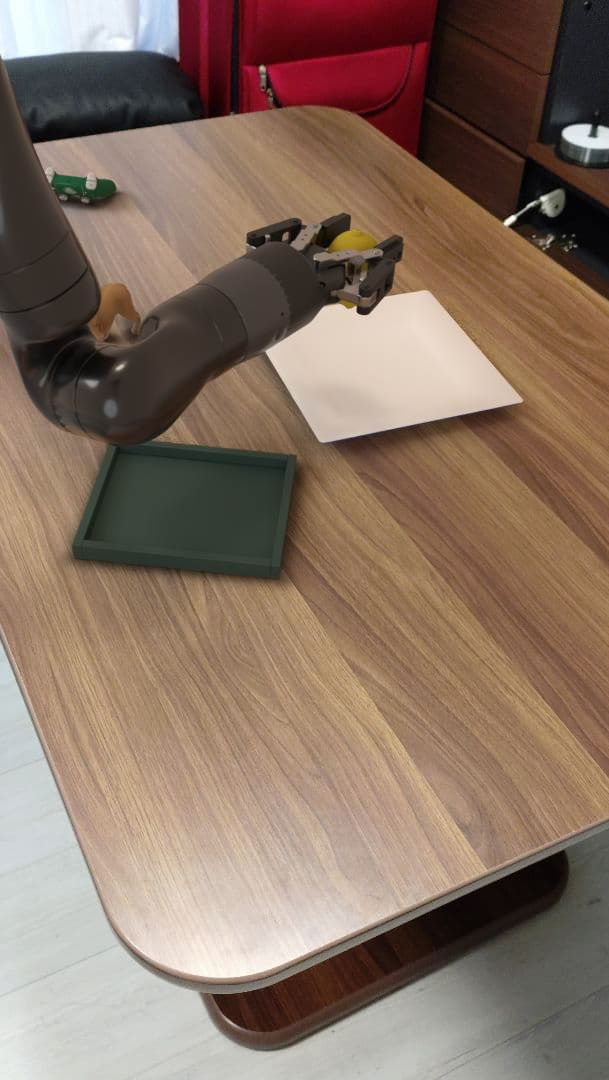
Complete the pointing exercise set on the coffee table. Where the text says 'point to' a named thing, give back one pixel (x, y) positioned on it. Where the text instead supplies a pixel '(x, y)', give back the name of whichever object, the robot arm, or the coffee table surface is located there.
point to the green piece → (80, 186)
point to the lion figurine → (114, 310)
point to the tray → (189, 509)
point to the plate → (386, 369)
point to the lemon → (359, 243)
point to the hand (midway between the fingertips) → (372, 234)
